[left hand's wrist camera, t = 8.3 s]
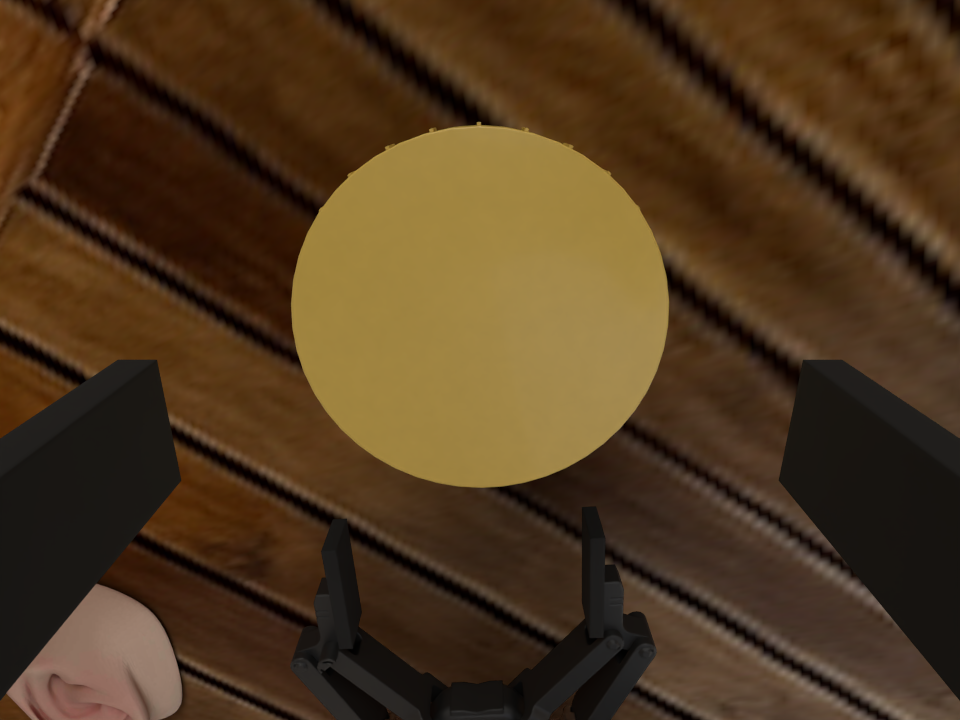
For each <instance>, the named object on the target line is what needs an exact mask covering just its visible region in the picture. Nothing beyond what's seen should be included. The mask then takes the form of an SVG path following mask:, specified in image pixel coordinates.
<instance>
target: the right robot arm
mask: <svg viewBox="0 0 960 720" xmlns="http://www.w3.org/2000/svg"><path fill="white" fill-rule="evenodd" d="M321 553H322V559H323V564H324V569H325V575H326V578H322V580H321V582H320V585H319V588H318V591H317V594H316V597H315V601H314V607H315V611H316V617H317V623H318V627H315V626H307V627H305V628H304V629H303V631H302V633H301V636H300V639H299V642H298V644H297V647H296V650H295V653H294V656H293V659H292V662H291V669H292V671H293V672H294V673H295V674H296V675H297V676H298V678H299V679H300V680H301V681H302V682H303V683H304V684H305V685H306V686H307V687H308V689H309V690H310V691H311V692H312V693H313V694H314V695H315V696H316V697H317V698H318V700H319V701H320V702H321V703H322V704H323V705H324V706H325V707H326V708H327V709H328V711H329V712H330V713H331V714H332V715H333V716H334V717H335V718H336V719H337V720H396V717H397V716H399V717H400V718H402V719H403V720H549V718H550V715H551V714H552V713H553V712H554V711H555V710H556V709H557V708H558V707H559V706H560V705H561V704H562V703H563V702H565V701H566V700H567V699H568V698H569V697H570V696H571V695H572V694H573V693H574V692H576V691H577V690H578V691H577V693H576V694H575V696H574V699H573V702H572V706H569V705H568V706H565V707H564V708H563V711H564V714H563V715H562V716H561V717H560V719H559V720H611V718H612V717H613V715H614V714H615V713H616V711H617V710H618V708H619V707H620V705H621V704H622V703H623V701H624V700H625V698H626V697H627V695H628V694H629V693H630V691H631V690H632V688H633V687H634V685H635V684H636V683H637V681H638V680H639V678H640V677H641V675H642V674H643V673H644V671H645V670H646V668H647V667H648V665H649V664H650V663H651V661H652V660H653V658H654V657H655V655H656V653H657V652H656V647H655V644H654V641H653V638H652V635H651V632H650V629H649V626H648V623H647V620H646V617H645V615H644V614H643V613H641V612H637V611H636V612H632V613H629V614H628V615H626V614H623V597H624V589H623V585H622V582H621V579H620V576H619V572H618V570H617V568H616V566H615V565H605V535H604V532H603V529H602V525H601V522H600V519H599V515H598V512H597V508H596V507H582V604H583V609H584V614H585V619H584V620H583V621H582V622H581V623H580V624H579V625H578V626H577V627H576V628H575V629H574V630H573V631H572V632H571V633H570V634H569V635H567V636H566V637H565V638H564V639H563V640H562V641H561V642H560V643H559V644H558V645H557V646H556V647H555V648H554V649H553V650H552V651H551V652H550V653H549V654H548V655H547V656H546V657H545V658H544V659H542V660H541V661H540V662H539V663H538V664H537V665H536V666H535V667H534V668H533V669H532V670H530V669H528V668H526V669H525V670H523V671H522V672H521V673H520V674H519V675H518V676H517V677H516V678H515V679H514V680H513V681H512V682H511V683H510V684H509V685H508V686H507V685H503V683H502V680H501V681H488V682H484V683H480V684H473V683H467V682H454V683H452V686H451V687H449V688H448V687H447V686H445V685H444V684H443V683H442V682H440V681H439V680H438V679H436V678H435V677H434V676H432V675H431V674H430V673H424V674H423V675H422V674H420V673H419V672H418V671H416V670H415V669H414V668H412V667H411V666H410V665H408V664H407V663H406V662H404V661H403V660H402V659H400V658H399V657H398V656H396V655H395V654H394V653H392V652H391V651H390V650H389V649H387V648H386V647H385V646H383V645H382V644H381V643H379V642H378V641H377V640H375V639H374V638H373V637H371V636H370V635H369V634H367V633H366V632H365V631H364V630H362V629H361V628H360V627H358V625H359V621H360V617H361V613H362V611H361V605H360V598H359V592H358V586H357V580H356V574H355V568H354V561H353V555H352V549H351V543H350V537H349V531H348V524H347V519H333V521H332V523H331V526H330V529H329V532H328V534H327V537H326V540H325V543H324V545H323V548H322V551H321ZM431 702H432V703H431ZM386 708H388V709H389V710H391V711H392V712H391V713H388V712H387V709H386ZM396 715H397V716H396Z"/></svg>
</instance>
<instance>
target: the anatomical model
mask: <svg viewBox="0 0 960 720" xmlns="http://www.w3.org/2000/svg"><path fill="white" fill-rule="evenodd" d="M7 694H8V695H9V697H10V698H11V699H12V700H13V701H14V702H15V703H16V704H17V705H18V706H19V707H20V708H21V709H22V710H23V711H24V712H25V713H26V714H27V715H28V716H29V717H30V718H31V719H32V720H160V719H163V718H166V717H168V716H170V715H172V714H173V713H175V712H176V711H177V710H178V708H179V707H180V705H181V702H182V684H181V678H180V673H179V669H178V665H177V661H176V658H175V655H174V652H173V649H172V646H171V643H170V641H169V638H168V636H167V634H166V632H165V630H164V628H163V627H162V625H161V623H160V622H159V620H158V619H157V617H156V616H155V615H154V614H153V613H152V612H151V611H150V610H149V609H148V608H146V607H145V606H144V605H142V604H141V603H140V602H138V601H136V600H135V599H133V598H131V597H129V596H127V595H125V594H123V593H121V592H118V591H116V590H113V589H111V588H108V587H105V586H102V585H99V584H96V585H95V586H94V587H93V588H92V590H91V591H90V592H89V593H88V594H87V596H86V597H85V598H84V599H83V600H82V602H81V603H80V604H79V605H78V607H77V608H76V609H75V610H74V611H73V613H72V614H71V615H70V616H69V617H68V619H67V620H66V621H65V622H64V624H63V625H62V626H61V627H60V628H59V630H58V631H57V632H56V633H55V635H54V636H53V637H52V638H51V639H50V641H49V642H48V643H47V644H46V645H45V647H44V648H43V649H42V650H41V652H40V653H39V654H38V655H37V656H36V658H35V659H34V660H33V661H32V662H31V664H30V665H29V666H28V667H27V669H26V670H25V671H24V672H23V673H22V675H21V676H20V677H19V678H18V679H17V681H16V682H15V683H14V684H13V686H12V687H11V688H10V689H9V690H8V692H7Z"/></svg>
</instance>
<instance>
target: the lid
mask: <svg viewBox="0 0 960 720" xmlns="http://www.w3.org/2000/svg"><path fill="white" fill-rule="evenodd" d="M429 131H430V132H429V133H426V134H423V135H420V136H418V137H415V138H412V139H410V140H407V141H404V142H401V143H399V144H397V145H395V144H392V145H389V146H387V147H385V149H386V151H384V152H382V153H380V154H379V155H377V156H375V157H374V158H372V159H371V160H370V161H368V162H367V163H366V164H364V165H363V166H362V167H360V168H359V169H358V170H356V171H354V172H351V173H349V174H348V175H347V176H348V177H349V178H348V179H347V180H346V181H345V182H343V183H342V184H341V185H340V186H339V187H338V188H337V189H336V190H335V192H334V193H333V194H332V196H331V197H330V198H329V200H328V201H327V202H326V204H325V205H324V206H323V207H322V208H320V210H319V211H320V212H319V213H318V215H317V217H316V219H315V221H314V222H313V224H312V226H311V228H310V230H309V231H308V233H307V236H306V239H305V241H304V244H303V246H302V248H301V252H300V254H299V257H298V262H297V266H296V270H295V275H294V279H293V289H292V301H291V309H292V328H293V333H294V338H295V343H296V349H297V352H298V355H299V359H300V362H301V365H302V368H303V371H304V373H305V375H306V377H307V379H308V381H309V384H310V386H311V388H312V390H313V392H314V394H315V395H316V397H317V398H318V400H319V401H320V403H321V404H322V406H323V407H324V409H325V410H326V412H327V413H328V414H329V416H330V417H331V418H332V419H333V420H334V421H335V423H336V424H337V425H338V426H339V427H340V429H341V430H342V431H344V432H345V433H346V434H347V435H348V436H349V437H350V438H351V439H352V440H353V441H354V442H355V443H357V444H358V445H359V446H360V447H362V448H363V449H365V450H366V451H367V452H369V453H370V454H372V455H373V456H374V457H376V458H377V459H379V460H381V461H383V462H385V463H386V464H388V465H390V466H392V467H394V468H395V469H398V470H400V471H403V472H405V473H408V474H410V475H412V476H415V477H418V478H422V479H425V480H429V481H432V482H436V483H441V484H447V485H453V486H459V487H478V488H484V487H500V486H508V485H514V484H519V483H525V482H528V481H532V480H535V479H539V478H542V477H545V476H548V475H550V474H553V473H555V472H557V471H560V470H562V469H564V468H567V467H569V466H570V465H572V464H574V463H576V462H577V461H579V460H581V459H583V458H584V457H586V456H587V455H589V454H590V453H592V452H593V451H594V450H596V449H597V448H598V447H600V446H601V445H602V444H604V443H605V442H606V441H607V440H608V439H609V438H610V437H611V436H612V435H613V434H614V433H616V432H617V431H618V430H619V429H620V428H621V427H622V425H623V424H624V423H625V422H626V421H627V419H628V418H629V417H630V416H631V415H632V413H633V412H634V411H635V410H636V408H637V406H638V405H639V403H640V402H641V400H642V399H643V397H644V395H645V394H646V392H647V390H648V388H649V386H650V384H651V382H652V380H653V378H654V376H655V373H656V371H657V369H658V365H659V362H660V359H661V356H662V353H663V350H664V345H665V340H666V334H667V329H668V314H669V297H668V287H667V277H666V273H665V269H664V265H663V261H662V257H661V253H660V251H659V247H658V245H657V243H656V241H655V238H654V235H653V233H652V231H651V229H650V227H649V225H648V224H647V222H646V220H645V218H644V217H643V215H642V213H641V211H640V208H639V206H637V205H636V204H635V203H634V202H633V201H632V199H631V198H630V197H629V195H628V194H627V193H626V192H625V190H624V189H623V188H622V187H621V186H620V185H619V184H618V183H617V182H616V181H615V180H614V179H613V178H612V177H611V176H610V175H611V173H610V172H609V171H606V170H604V169H602V168H600V167H599V166H597V165H596V164H595V163H593V162H592V161H591V160H589V159H588V158H586V157H585V156H584V155H582V154H580V153H578V152H576V151H574V150H573V149H572V148H573V146H572V145H570V144H567V143H563V144H561V143H559V142H556V141H554V140H551V139H548V138H545V137H543V136H540V135H537V134H534V133H531V132H528V131H529V129H528V128H524V127H522V129H521V130H518V129H513V128H508V127H501V126H486V125H481V122H477V125H473V126H460V127H452V128H447V129H443V130H438V131H437V129H436V128H432V129H429Z"/></svg>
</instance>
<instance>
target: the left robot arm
mask: <svg viewBox="0 0 960 720" xmlns="http://www.w3.org/2000/svg"><path fill="white" fill-rule="evenodd" d="M180 481H181V477H180V472H179V467H178V462H177V457H176V452H175V447H174V442H173V437H172V432H171V427H170V422H169V418H168V413H167V408H166V403H165V398H164V393H163V388H162V383H161V378H160V373H159V368H158V363H157V360H117V361H116V362H114V363H113V364H111V365H110V366H108V367H107V368H105V369H104V370H102V371H101V372H99V373H98V374H96V375H95V376H93V377H92V378H90V379H89V380H87V381H86V382H84V383H83V384H81V385H80V386H78V387H77V388H75V389H74V390H72V391H71V392H69V393H68V394H66V395H65V396H63V397H62V398H60V399H59V400H57V401H56V402H54V403H53V404H51V405H50V406H48V407H47V408H45V409H44V410H42V411H41V412H39V413H38V414H36V415H35V416H33V417H32V418H30V419H29V420H27V421H26V422H24V423H23V424H21V425H20V426H19V427H17V428H16V429H14V430H13V431H11V432H10V433H8V434H7V435H5V436H4V437H2V438H1V439H0V700H1V699H2V698H3V696H4V695H5V694H6V693H7V692H8V690H9V689H10V688H11V687H12V686H13V684H14V683H15V682H16V681H17V679H18V678H19V677H20V676H21V675H22V673H23V672H24V671H25V670H26V669H27V667H28V666H29V665H30V664H31V662H32V661H33V660H34V659H35V658H36V656H37V655H38V654H39V653H40V652H41V650H42V649H43V648H44V647H45V645H46V644H47V643H48V642H49V641H50V639H51V638H52V637H53V636H54V635H55V633H56V632H57V631H58V630H59V628H60V627H61V626H62V625H63V624H64V622H65V621H66V620H67V619H68V617H69V616H70V615H71V614H72V613H73V611H74V610H75V609H76V608H77V607H78V605H79V604H80V603H81V602H82V600H83V599H84V598H85V597H86V596H87V594H88V593H89V592H90V591H91V590H92V588H93V587H94V586H95V585H96V583H97V582H98V581H99V580H100V579H101V577H102V576H103V575H104V574H105V573H106V571H107V570H108V569H109V568H110V566H111V565H112V564H113V563H114V562H115V560H116V559H117V558H118V557H119V555H120V554H121V553H122V552H123V551H124V549H125V548H126V547H127V546H128V545H129V543H130V542H131V541H132V540H133V538H134V537H135V536H136V535H137V534H138V532H139V531H140V530H141V529H142V528H143V526H144V525H145V524H146V523H147V521H148V520H149V519H150V518H151V517H152V515H153V514H154V513H155V512H156V511H157V509H158V508H159V507H160V506H161V504H162V503H163V502H164V501H165V500H166V498H167V497H168V496H169V495H170V493H171V492H172V491H173V490H174V489H175V487H176V486H177V485H178V484H179V483H180ZM779 481H780V483H781V484H782V485H783V486H784V487H785V489H786V490H787V491H788V492H789V493H790V495H791V496H792V497H793V498H794V500H795V501H796V502H797V503H798V504H799V506H800V507H801V508H802V509H803V511H804V512H805V513H806V514H807V515H808V517H809V518H810V519H811V520H812V521H813V523H814V524H815V525H816V526H817V528H818V529H819V530H820V531H821V532H822V534H823V535H824V536H825V537H826V538H827V540H828V541H829V542H830V543H831V545H832V546H833V547H834V548H835V549H836V551H837V552H838V553H839V554H840V555H841V557H842V558H843V559H844V560H845V562H846V563H847V564H848V565H849V566H850V568H851V569H852V570H853V571H854V573H855V574H856V575H857V576H858V577H859V579H860V580H861V581H862V582H863V583H864V585H865V586H866V587H867V588H868V590H869V591H870V592H871V593H872V594H873V596H874V597H875V598H876V599H877V600H878V602H879V603H880V604H881V605H882V607H883V608H884V609H885V610H886V611H887V613H888V614H889V615H890V616H891V617H892V619H893V620H894V621H895V622H896V624H897V625H898V626H899V627H900V628H901V630H902V631H903V632H904V633H905V635H906V636H907V637H908V638H909V639H910V641H911V642H912V643H913V644H914V645H915V647H916V648H917V649H918V650H919V652H920V653H921V654H922V655H923V656H924V658H925V659H926V660H927V661H928V662H929V664H930V665H931V666H932V667H933V669H934V670H935V671H936V672H937V673H938V675H939V676H940V677H941V678H942V679H943V681H944V682H945V683H946V684H947V686H948V687H949V688H950V689H951V690H952V692H953V693H954V694H955V695H956V697H957V698H958V699H959V700H960V439H959V438H958V437H956V436H955V435H953V434H952V433H950V432H949V431H947V430H946V429H944V428H943V427H941V426H940V425H939V424H937V423H936V422H934V421H933V420H931V419H930V418H928V417H927V416H925V415H924V414H922V413H921V412H919V411H918V410H916V409H915V408H913V407H912V406H910V405H909V404H907V403H906V402H904V401H903V400H901V399H900V398H898V397H897V396H895V395H894V394H892V393H891V392H889V391H888V390H886V389H885V388H883V387H882V386H880V385H879V384H877V383H876V382H874V381H873V380H871V379H870V378H868V377H867V376H865V375H864V374H862V373H861V372H859V371H858V370H856V369H855V368H853V367H852V366H850V365H849V364H847V363H846V362H844V361H843V360H803V363H802V368H801V373H800V378H799V383H798V388H797V393H796V398H795V403H794V408H793V413H792V418H791V422H790V427H789V432H788V437H787V442H786V447H785V452H784V457H783V462H782V467H781V472H780V477H779Z"/></svg>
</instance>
